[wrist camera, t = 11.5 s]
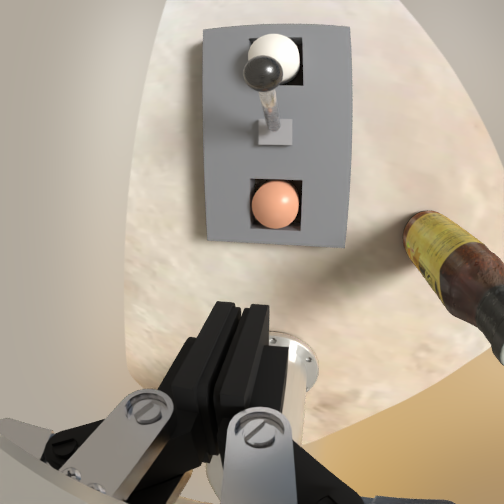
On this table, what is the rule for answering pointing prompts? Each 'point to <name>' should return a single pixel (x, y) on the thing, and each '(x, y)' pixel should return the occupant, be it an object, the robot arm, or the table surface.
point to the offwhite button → (278, 53)
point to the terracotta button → (276, 203)
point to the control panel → (278, 135)
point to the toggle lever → (265, 86)
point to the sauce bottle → (459, 273)
